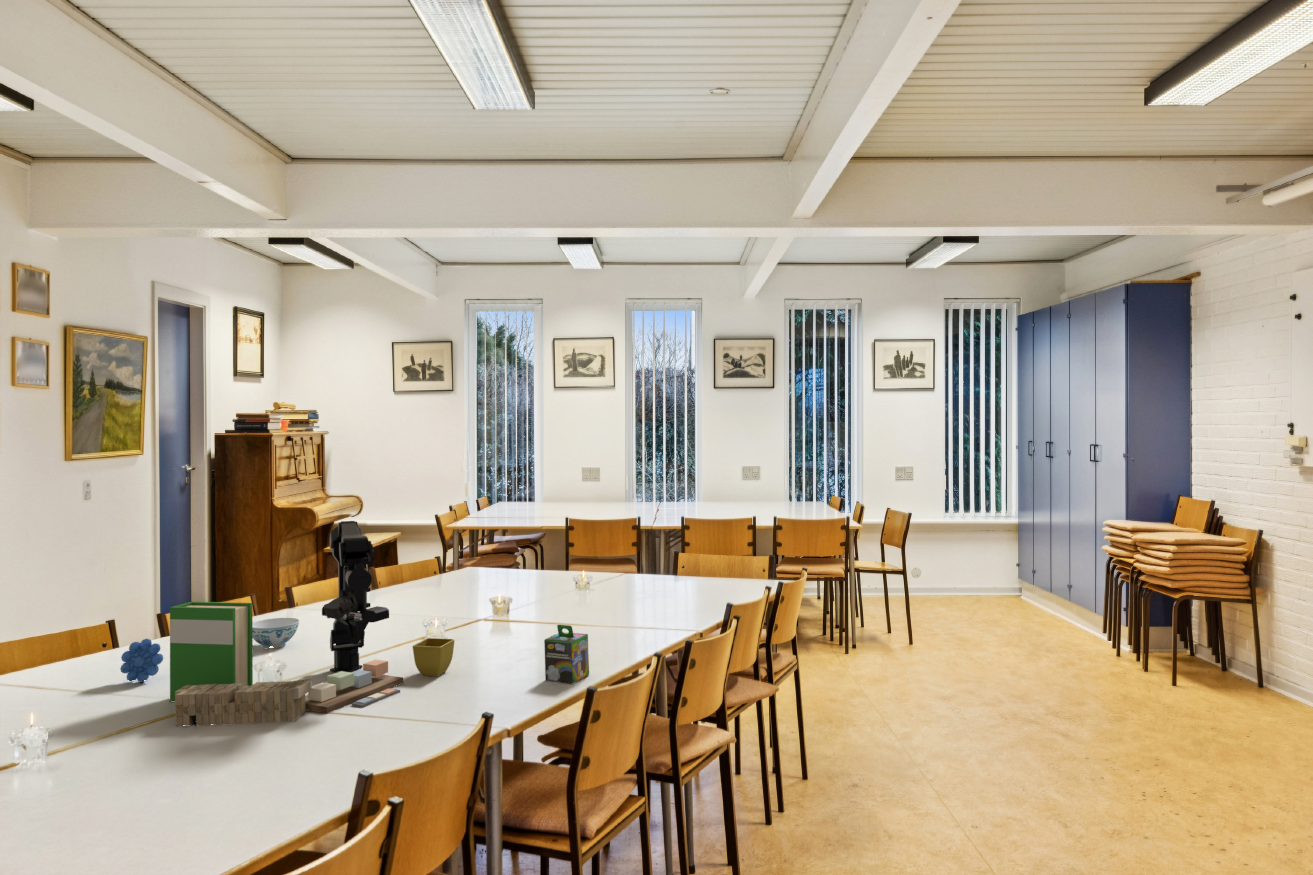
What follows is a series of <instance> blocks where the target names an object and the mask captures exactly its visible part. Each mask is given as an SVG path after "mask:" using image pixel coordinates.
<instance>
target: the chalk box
mask: <svg viewBox="0 0 1313 875" xmlns="http://www.w3.org/2000/svg"><path fill="white" fill-rule="evenodd" d="M556 628H557V634H553V635H550V637H547V638H545V639H544V641H543V642H544V643H543V644H544V666H545V667H544V669H545V670H544V671H545V672H544V675H545V681H550V682H551V681H552V682H558V683H564V684H565V683H566V684H570V685H571V684H572V685H573V684H575V683H577V682H579V680H582V679H583V678H586V677H587V676H589V675H590V660H589V659H590V658H589V657H590V655H589V634H588V633H579V632H574V631H573V626H572V625H569V624H568V625H566V624H557V626H556ZM563 629H564V630H565V629H566V630H567V631H568V632H564V631H563Z"/></svg>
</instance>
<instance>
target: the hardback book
mask: <svg viewBox="0 0 1313 875" xmlns="http://www.w3.org/2000/svg"><path fill="white" fill-rule="evenodd" d="M252 622H253V602H229V601H228V602H227V601H226V602H219V601H218V602H217V601H189V602H185V603H182V604H176V605H174V606H173V605H172V606H170V607H169V701H170V700H171V701H175V691H177V690H179V689H181V688H182V687H184V686H186V685H192V686H193V685H206V684H210V685H211V684H217V685H219V684H237V683H242V687H244V686H252V685H253V684H254V682H253V680H254V679H253V678H254V676H253V674H254V673H253V666H254V665H253V664H254V663H253V661H254V660H253V658H254V656H253V653H254V651H253V648H254V646H253V643H254V639H253V638H252Z"/></svg>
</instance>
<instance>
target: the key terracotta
mask: <svg viewBox="0 0 1313 875" xmlns="http://www.w3.org/2000/svg"><path fill="white" fill-rule="evenodd" d="M362 670H363V671H370V672H372V676H374V677H377V676H379V675H386V674H387V673H389V661H388V660H380V659H373V660H369V661H367V662H364V663H362Z"/></svg>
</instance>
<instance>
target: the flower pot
mask: <svg viewBox="0 0 1313 875" xmlns="http://www.w3.org/2000/svg"><path fill="white" fill-rule="evenodd" d="M454 648H455V639H454V638H440V637H439V638H437V637H436V638H435V637H427V638H424V639H423V640H420V641H419V642H417V643H415V644H413V645H412V652H413V659H414V664H415V668H417V670H418V672H419V673H420V675H421V676H428V677H440V676H441V675H443V674H444V673H446V672H447V670H448V669H449V667H450V664H451V662H452V660H453V655H454Z"/></svg>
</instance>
